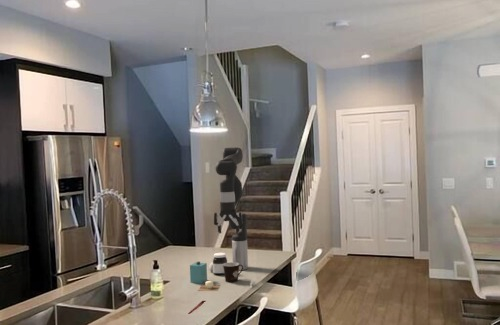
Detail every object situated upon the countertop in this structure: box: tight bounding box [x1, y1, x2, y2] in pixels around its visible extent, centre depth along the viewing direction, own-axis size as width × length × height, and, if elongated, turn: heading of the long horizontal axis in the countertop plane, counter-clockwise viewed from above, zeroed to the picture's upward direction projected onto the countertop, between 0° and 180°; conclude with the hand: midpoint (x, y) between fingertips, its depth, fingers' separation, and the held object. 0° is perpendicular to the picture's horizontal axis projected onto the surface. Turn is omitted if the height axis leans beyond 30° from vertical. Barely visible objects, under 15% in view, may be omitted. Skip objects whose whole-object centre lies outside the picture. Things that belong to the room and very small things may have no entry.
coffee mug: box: [223, 261, 244, 284], centre depth 234 cm, size 12×9×10 cm
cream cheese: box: [204, 280, 214, 289], centre depth 222 cm, size 4×4×3 cm
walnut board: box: [197, 284, 222, 292], centre depth 222 cm, size 10×10×1 cm
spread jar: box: [208, 252, 228, 276], centre depth 254 cm, size 12×11×12 cm
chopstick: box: [187, 300, 207, 315], centre depth 200 cm, size 2×24×1 cm, turn 164°
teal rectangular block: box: [189, 261, 208, 284], centre depth 235 cm, size 7×7×11 cm
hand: (228, 233), depth 219 cm, fingers open, 8 cm apart
